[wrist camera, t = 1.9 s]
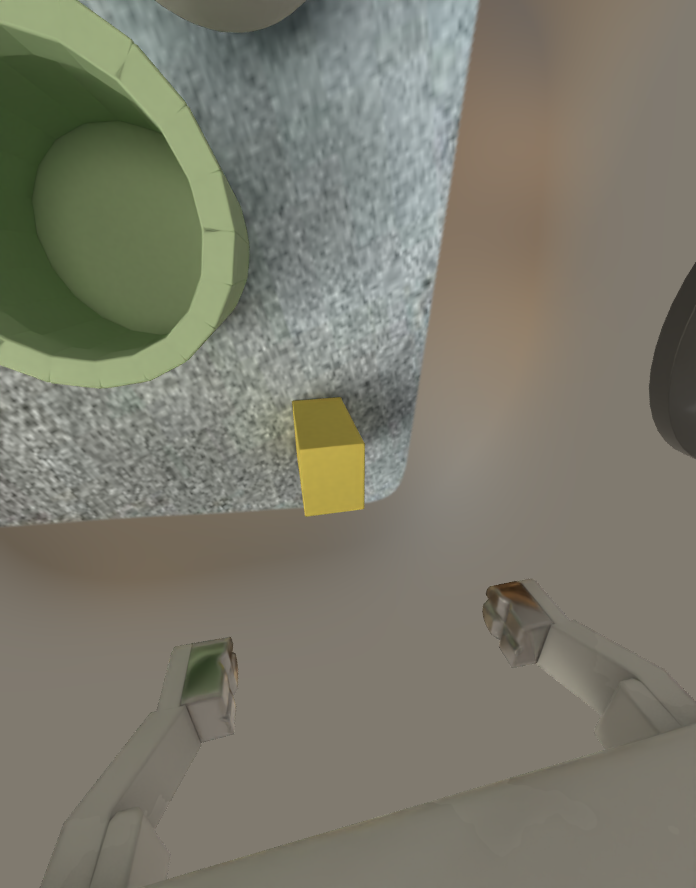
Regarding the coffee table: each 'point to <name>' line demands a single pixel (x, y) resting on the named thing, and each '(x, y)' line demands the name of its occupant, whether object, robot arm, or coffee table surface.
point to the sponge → (328, 456)
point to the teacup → (232, 13)
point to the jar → (105, 207)
